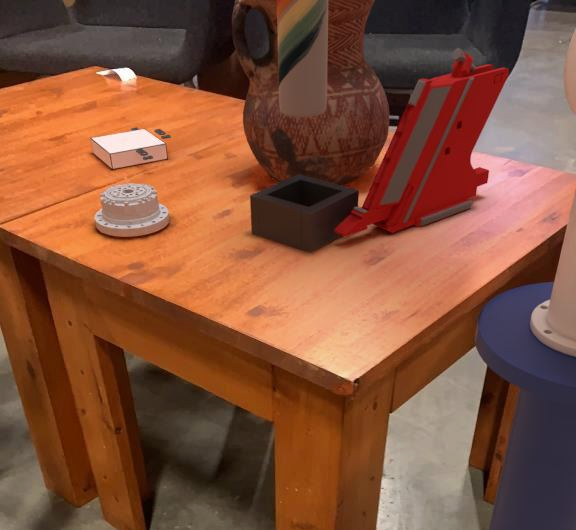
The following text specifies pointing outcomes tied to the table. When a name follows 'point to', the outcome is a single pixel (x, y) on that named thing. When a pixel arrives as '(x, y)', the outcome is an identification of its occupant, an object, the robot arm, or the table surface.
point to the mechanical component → (130, 211)
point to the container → (130, 148)
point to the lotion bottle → (302, 56)
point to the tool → (432, 151)
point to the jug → (339, 109)
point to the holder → (301, 211)
